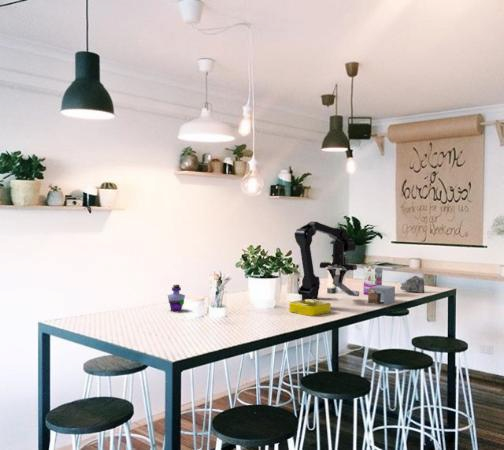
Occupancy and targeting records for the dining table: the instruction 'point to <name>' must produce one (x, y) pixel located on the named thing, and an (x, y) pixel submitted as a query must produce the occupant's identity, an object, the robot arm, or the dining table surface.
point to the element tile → (309, 307)
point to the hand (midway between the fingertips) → (337, 282)
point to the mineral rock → (413, 285)
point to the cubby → (385, 293)
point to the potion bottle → (176, 299)
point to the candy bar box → (372, 278)
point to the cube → (374, 298)
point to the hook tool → (343, 286)
